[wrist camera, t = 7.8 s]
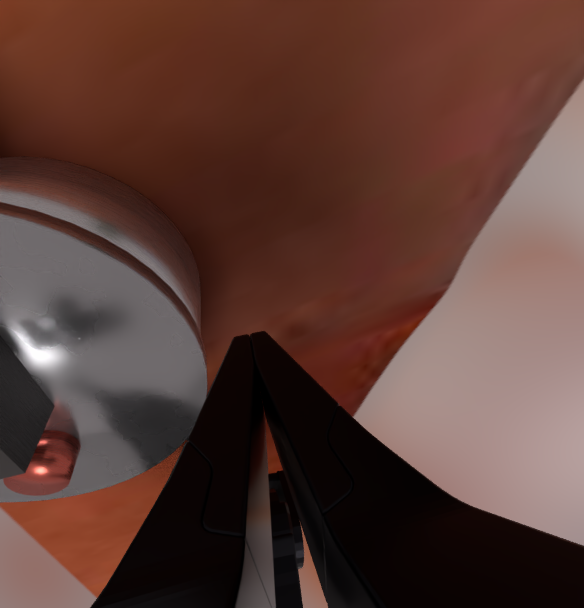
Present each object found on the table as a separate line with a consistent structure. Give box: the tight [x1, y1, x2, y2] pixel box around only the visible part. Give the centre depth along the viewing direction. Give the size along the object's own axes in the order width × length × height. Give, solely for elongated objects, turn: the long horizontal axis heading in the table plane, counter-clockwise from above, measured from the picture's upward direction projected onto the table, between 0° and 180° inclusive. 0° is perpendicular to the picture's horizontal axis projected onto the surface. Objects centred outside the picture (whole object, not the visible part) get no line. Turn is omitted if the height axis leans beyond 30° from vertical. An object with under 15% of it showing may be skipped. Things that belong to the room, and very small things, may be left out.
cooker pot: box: [0, 157, 201, 334], centre depth 16 cm, size 20×15×7 cm
